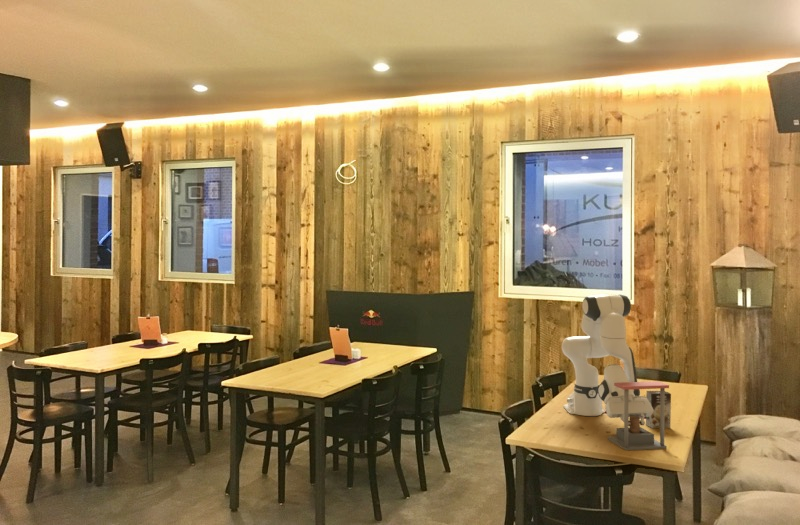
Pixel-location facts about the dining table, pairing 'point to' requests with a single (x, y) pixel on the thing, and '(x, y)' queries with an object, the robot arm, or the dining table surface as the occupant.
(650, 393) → the coffee box
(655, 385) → the socket stand
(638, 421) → the walnut peg
